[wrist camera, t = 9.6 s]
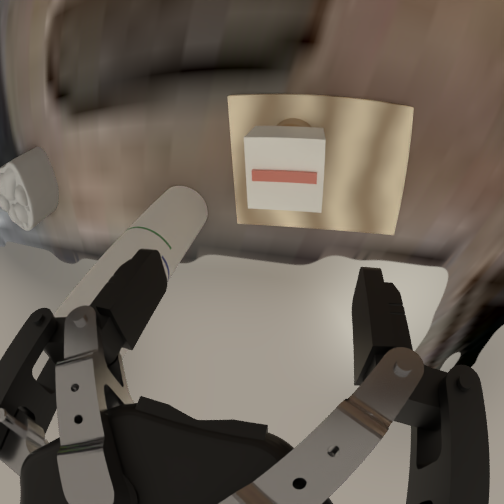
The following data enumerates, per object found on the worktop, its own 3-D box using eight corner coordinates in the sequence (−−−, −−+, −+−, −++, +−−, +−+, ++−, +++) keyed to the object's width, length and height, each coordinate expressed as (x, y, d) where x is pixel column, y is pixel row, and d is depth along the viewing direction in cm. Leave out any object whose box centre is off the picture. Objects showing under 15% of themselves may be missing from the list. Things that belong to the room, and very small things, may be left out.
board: (409, 106, 25) (413, 107, 24) (391, 228, 34) (393, 235, 33) (231, 95, 29) (227, 96, 27) (240, 217, 38) (237, 223, 37)
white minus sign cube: (323, 127, 21) (325, 140, 18) (320, 189, 25) (321, 214, 21) (255, 125, 22) (242, 138, 19) (258, 186, 26) (247, 210, 22)
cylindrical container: (170, 233, 42) (75, 372, 22) (154, 190, 38) (30, 321, 18) (214, 228, 40) (127, 388, 20) (198, 181, 36) (76, 331, 16)
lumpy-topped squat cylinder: (44, 142, 36) (7, 162, 29) (67, 208, 43) (36, 234, 36) (18, 157, 39) (-14, 176, 32) (39, 214, 46) (11, 237, 39)
